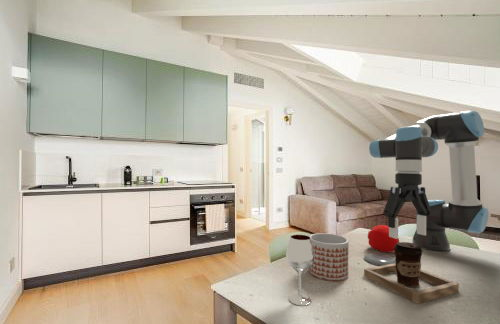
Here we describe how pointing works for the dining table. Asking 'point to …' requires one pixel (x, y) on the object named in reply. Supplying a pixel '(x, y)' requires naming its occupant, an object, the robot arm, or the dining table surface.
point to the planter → (329, 257)
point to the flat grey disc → (379, 259)
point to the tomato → (382, 239)
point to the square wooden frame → (418, 297)
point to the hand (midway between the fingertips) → (407, 236)
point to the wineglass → (300, 263)
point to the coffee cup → (408, 263)
